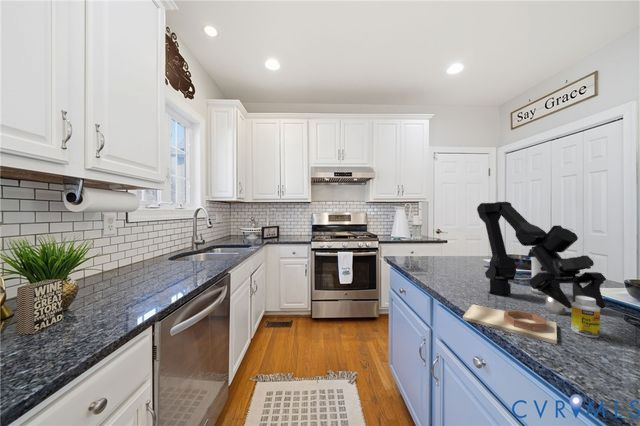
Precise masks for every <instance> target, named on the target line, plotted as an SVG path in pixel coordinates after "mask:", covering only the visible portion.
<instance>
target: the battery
mask: <svg viewBox="0 0 640 426" xmlns="http://www.w3.org/2000/svg"><path fill="white" fill-rule="evenodd" d="M575 276H576V277H579V276H580V275H575ZM580 289H581V288H579V287H577V285H576V284H575V283H572V303H573V302H576V301H575V299H576V296H586V295H585V294H584V293H582V292H581V291H580ZM586 297H587V296H586Z"/></svg>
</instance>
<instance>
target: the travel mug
mask: <svg viewBox="0 0 640 426" xmlns="http://www.w3.org/2000/svg"><path fill="white" fill-rule="evenodd" d="M534 247H535V246H531V249H533V248H534ZM541 267H542V266H541V264H540V263H539V261H538V260H537V259H536V257H531V278H533V277H534V276H535V275H536V274H537V273H538V272H546V271H541V269H540V268H541ZM531 293H533V294H535V295H539V296H544V297H546V294H545V293H543V292H541V291H538V289H533V288H532V287H531Z"/></svg>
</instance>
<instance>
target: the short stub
mask: <svg viewBox="0 0 640 426" xmlns="http://www.w3.org/2000/svg"><path fill="white" fill-rule="evenodd" d="M566 308H567V307H566V306H564V305H562V304H561V303H559V302H558V301H556V300H555V299H553V298H552V297H550V296H548V295H546V296H545V312H548V313H550V314H553V315H560V316H564V315H566V311H567V310H566Z"/></svg>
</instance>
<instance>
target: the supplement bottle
mask: <svg viewBox="0 0 640 426" xmlns="http://www.w3.org/2000/svg"><path fill="white" fill-rule="evenodd" d="M575 301H576V302H573V301H572V303H571V305H572V308H571V315H570V316H571V320H570V321H571V325H570V327H571V331H572V332H574V333H576V334H578V335H580V336H582V337H586V338H593V339H595V338H600V335H601V308H600V307H599V306H598V305H596V299H594V298H591V297H586V296H576V299H575Z"/></svg>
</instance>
